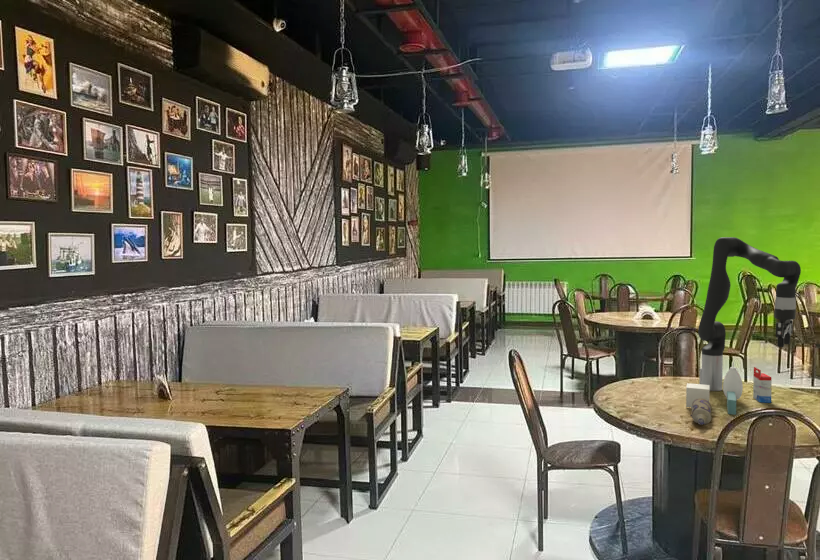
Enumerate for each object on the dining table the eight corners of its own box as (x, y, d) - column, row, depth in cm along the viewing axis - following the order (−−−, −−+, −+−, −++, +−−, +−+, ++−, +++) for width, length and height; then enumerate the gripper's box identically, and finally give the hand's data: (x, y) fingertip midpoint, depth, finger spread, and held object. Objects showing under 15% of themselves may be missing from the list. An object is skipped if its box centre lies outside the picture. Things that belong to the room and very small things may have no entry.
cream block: (686, 407, 255) (686, 387, 255) (686, 402, 263) (687, 383, 263) (709, 410, 251) (709, 389, 251) (709, 405, 259) (709, 385, 259)
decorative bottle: (691, 412, 249) (691, 396, 248) (711, 414, 245) (711, 398, 245) (688, 429, 226) (689, 412, 225) (710, 432, 222) (711, 414, 222)
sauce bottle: (741, 399, 267) (742, 360, 266) (743, 403, 260) (743, 363, 259) (722, 398, 270) (722, 359, 269) (723, 402, 263) (723, 362, 262)
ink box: (771, 403, 260) (772, 370, 259) (759, 402, 261) (760, 370, 260) (764, 398, 269) (764, 366, 268) (752, 397, 270) (753, 366, 269)
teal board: (727, 413, 245) (728, 399, 244) (726, 404, 259) (727, 391, 259) (736, 414, 243) (736, 400, 243) (734, 405, 258) (734, 391, 257)
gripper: (780, 305, 255) (779, 342, 256) (769, 308, 246) (768, 346, 247) (800, 307, 250) (798, 344, 251) (790, 309, 240) (788, 348, 241)
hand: (783, 345), depth 249 cm, fingers open, 8 cm apart
